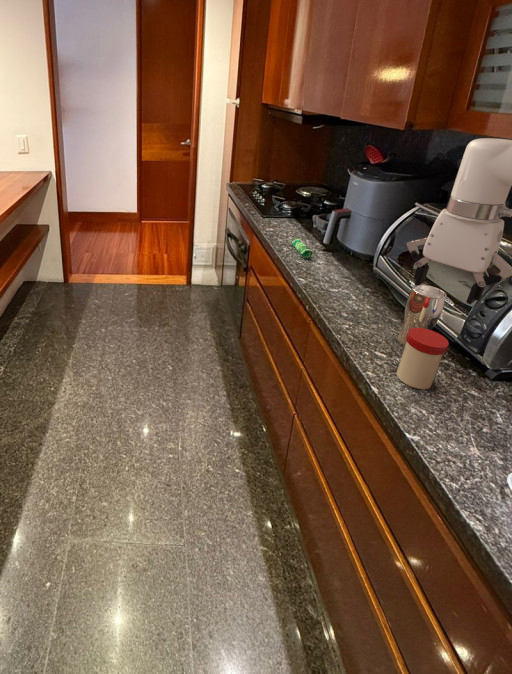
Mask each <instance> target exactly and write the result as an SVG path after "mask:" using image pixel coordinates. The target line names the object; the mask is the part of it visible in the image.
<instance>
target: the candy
mask: <svg viewBox="0 0 512 674" xmlns="http://www.w3.org/2000/svg"><path fill="white" fill-rule="evenodd" d="M290 244H291V246H292V247H294V248H295V249H296V251H297V252H298V253H299V254H300V255H301V256H302V258H303V259H304V260H305V259H311V257H312V256H313V251H312V249H309V248H308V247H307V246H306V244H305V243H304V242H303V241H301V240H300V238H299V237H296V238H293V239H291V242H290Z"/></svg>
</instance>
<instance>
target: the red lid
mask: <svg viewBox="0 0 512 674" xmlns="http://www.w3.org/2000/svg"><path fill="white" fill-rule="evenodd" d="M406 341H407V342H408V344H409V345H410V346H412V347H413V348H415V349H417V350H419V351H421V352H423V353H427V354H431V355H443V356H444V355H445V354H446V353H447V351H448V349H449V345H450V343H449V340H448V339H447V338H446V337H445V336H444V335H442V334H440V333H439V332H437V331H435V330H433V329H432V330H428V329H424V328H412V329H410V330H409V331H408V333H407V336H406Z"/></svg>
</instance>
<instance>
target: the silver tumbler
mask: <svg viewBox="0 0 512 674" xmlns="http://www.w3.org/2000/svg"><path fill="white" fill-rule="evenodd" d="M446 298H447V293H446V291H443V290H442V289H441V288H438V287H435V286H432V285H428V284H424V283H422V284H421V285H419V286H416V285H415V284H413V285H412V287H411V289H410V291H409V294H408V296H407V300H406V303H405V306H404V316H403V326H402V328H401V331H400V333H399V334H398V335H397V338H396V339H397V341H398V343H399V344H400V345H402V346H403V347H405V345H406V342H407V341H406V336H407V333H408V331H409V330H410V329H412V328H424V329H428V330H432V331H433V329H434V327H435V326H436V324H437V322H438V321H439V319H440V318H441V315H442V312H443V310H444V306H445V303H446Z"/></svg>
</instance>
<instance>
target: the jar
mask: <svg viewBox="0 0 512 674" xmlns="http://www.w3.org/2000/svg"><path fill="white" fill-rule="evenodd" d="M443 356H444V354H443V355H431V354H427V353H423V352H421V351H419V350H417V349H415V348H413V347H412V346H410V345H409V344H408V342H406V345H405V346H404V348H403V351H402V354H401V357H400V360H399V364H398V366H397V370H396V377H397V379H399V381H401V382H402V383H404V384H405V385H407V386H409V387H412V388H415V389H418V390H428V389H430V388H432V385H433V383H434V380H435V377H436V374H437V372H438V370H439V367H440V364H441V361H442V359H443Z"/></svg>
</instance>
